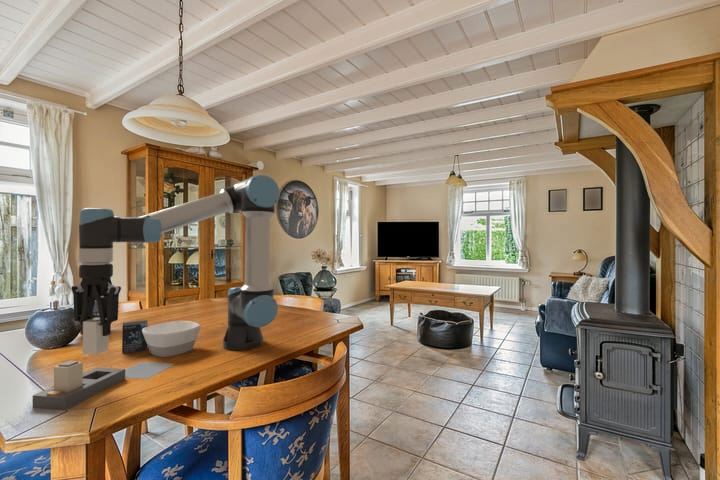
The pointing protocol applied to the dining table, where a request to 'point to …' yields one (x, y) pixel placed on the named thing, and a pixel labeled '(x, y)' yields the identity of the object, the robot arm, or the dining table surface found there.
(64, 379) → the twin plug
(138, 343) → the box
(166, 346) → the bowl
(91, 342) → the plug
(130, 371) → the tray
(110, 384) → the grey socket block
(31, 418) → the dining table surface
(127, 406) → the dining table surface
